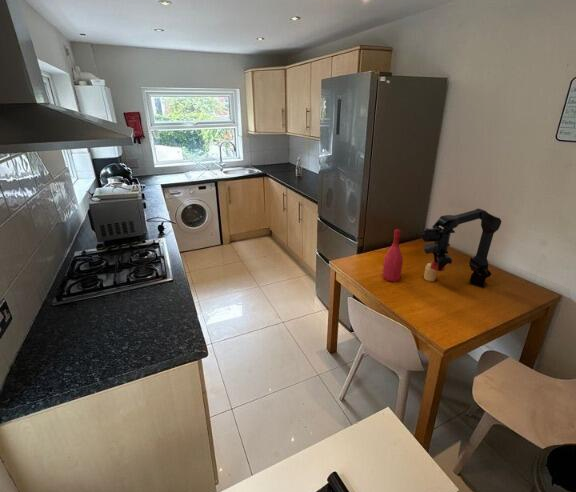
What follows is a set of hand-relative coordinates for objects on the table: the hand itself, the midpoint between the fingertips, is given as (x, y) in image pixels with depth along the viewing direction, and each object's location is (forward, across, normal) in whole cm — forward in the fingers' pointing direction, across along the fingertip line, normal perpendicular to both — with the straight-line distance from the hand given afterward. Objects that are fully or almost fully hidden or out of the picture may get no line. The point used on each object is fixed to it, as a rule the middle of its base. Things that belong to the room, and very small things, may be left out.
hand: (437, 267), depth 160 cm
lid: (-1, 0, 0) cm, 1 cm away
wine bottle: (+12, -5, -22) cm, 25 cm away
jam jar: (+12, -9, 0) cm, 15 cm away
